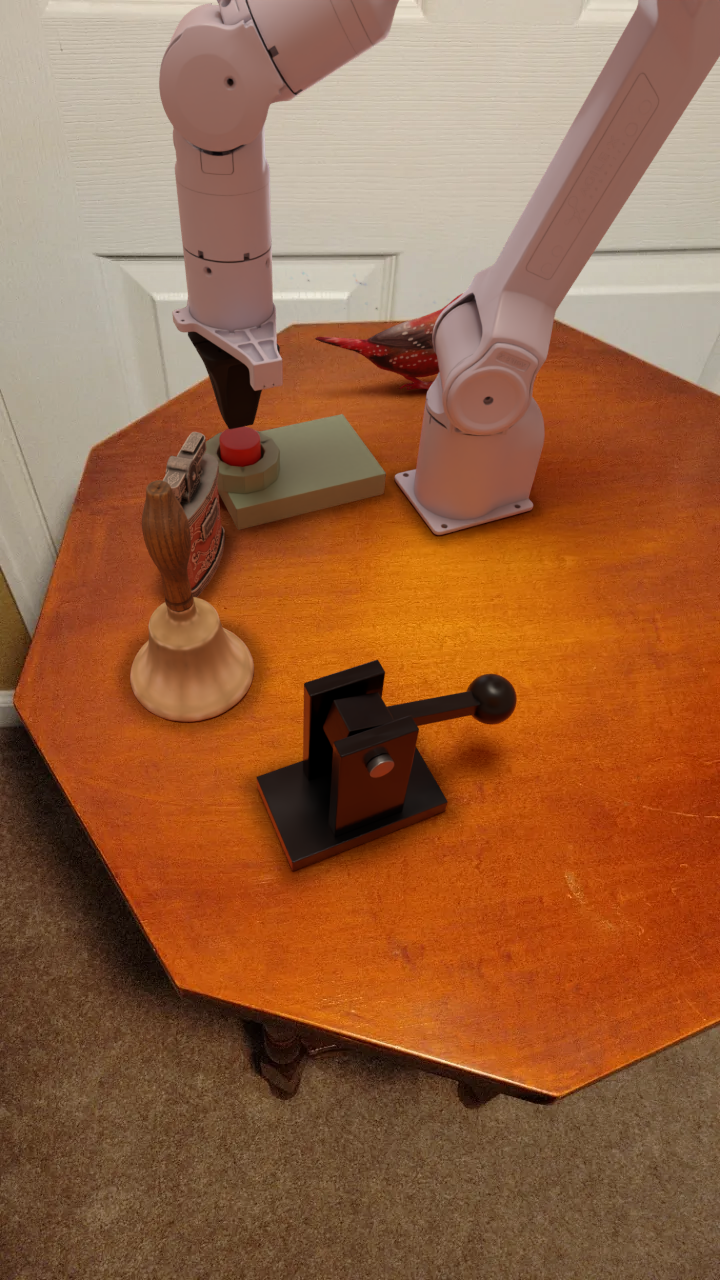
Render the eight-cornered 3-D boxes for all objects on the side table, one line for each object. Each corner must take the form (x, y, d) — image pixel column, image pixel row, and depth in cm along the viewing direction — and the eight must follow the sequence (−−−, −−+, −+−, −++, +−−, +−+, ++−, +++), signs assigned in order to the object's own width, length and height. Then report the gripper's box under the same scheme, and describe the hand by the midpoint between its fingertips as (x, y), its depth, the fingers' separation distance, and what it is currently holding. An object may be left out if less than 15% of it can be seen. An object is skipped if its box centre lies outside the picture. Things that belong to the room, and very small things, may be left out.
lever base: (401, 735, 53) (419, 637, 45) (445, 811, 49) (472, 719, 42) (256, 786, 49) (249, 691, 42) (292, 871, 46) (291, 784, 39)
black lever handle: (488, 692, 50) (507, 660, 48) (513, 730, 48) (534, 697, 46) (317, 725, 44) (331, 689, 42) (339, 768, 43) (354, 734, 41)
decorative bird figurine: (492, 392, 79) (513, 293, 72) (316, 406, 76) (319, 304, 68) (483, 376, 81) (502, 278, 74) (311, 389, 78) (312, 288, 70)
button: (253, 440, 66) (252, 422, 65) (266, 463, 64) (265, 445, 63) (215, 448, 65) (213, 430, 64) (228, 471, 63) (226, 453, 62)
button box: (341, 434, 73) (343, 396, 70) (384, 494, 68) (388, 455, 65) (192, 467, 69) (187, 427, 66) (225, 533, 64) (221, 494, 61)
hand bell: (147, 738, 51) (101, 556, 39) (118, 645, 56) (68, 457, 44) (271, 700, 54) (263, 518, 42) (232, 614, 58) (216, 428, 46)
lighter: (200, 605, 59) (186, 498, 51) (156, 596, 59) (135, 489, 51) (233, 533, 64) (225, 427, 56) (192, 526, 64) (179, 419, 57)
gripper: (137, 204, 55) (162, 382, 65) (201, 305, 47) (218, 489, 57) (235, 193, 57) (245, 366, 67) (313, 287, 49) (310, 468, 59)
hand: (238, 422), depth 62 cm, fingers closed
